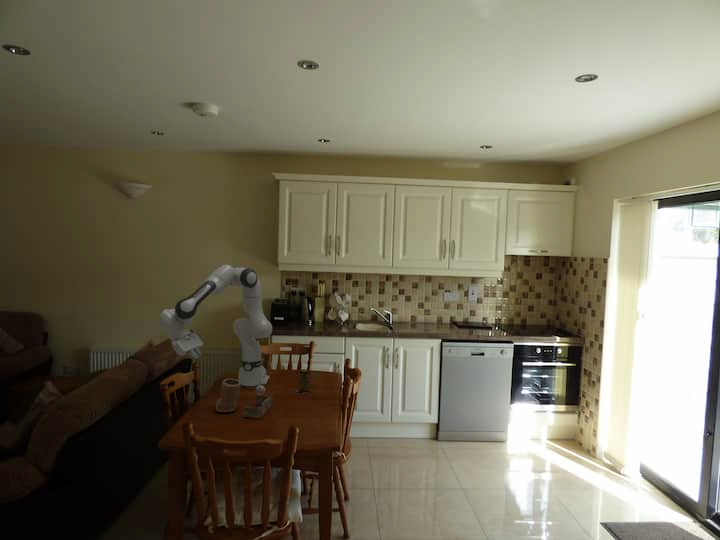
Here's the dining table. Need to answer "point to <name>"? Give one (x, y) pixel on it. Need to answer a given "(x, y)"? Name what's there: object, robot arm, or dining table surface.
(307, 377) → the condiment
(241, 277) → the robot arm
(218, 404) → the stone cup
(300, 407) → the dining table surface
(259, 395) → the cradle
